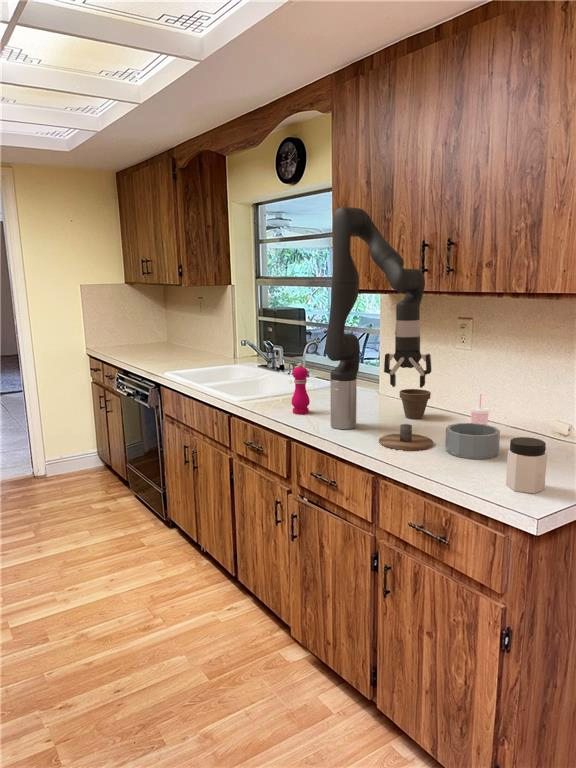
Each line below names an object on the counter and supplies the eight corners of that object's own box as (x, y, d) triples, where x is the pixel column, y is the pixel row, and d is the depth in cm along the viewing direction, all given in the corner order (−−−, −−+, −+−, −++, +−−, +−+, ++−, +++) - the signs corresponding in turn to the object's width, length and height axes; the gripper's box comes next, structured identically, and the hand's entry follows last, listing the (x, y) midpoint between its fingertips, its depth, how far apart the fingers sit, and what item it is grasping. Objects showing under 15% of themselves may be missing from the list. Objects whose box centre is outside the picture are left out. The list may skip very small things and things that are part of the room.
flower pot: (417, 412, 222) (418, 387, 221) (436, 418, 212) (437, 392, 210) (393, 415, 218) (393, 390, 216) (410, 422, 208) (411, 395, 206)
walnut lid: (375, 437, 190) (375, 419, 189) (426, 436, 190) (426, 418, 189) (383, 452, 174) (383, 433, 172) (439, 451, 173) (439, 432, 172)
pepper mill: (299, 415, 220) (298, 364, 217) (288, 412, 226) (287, 362, 222) (313, 412, 224) (313, 363, 221) (302, 409, 230) (301, 361, 227)
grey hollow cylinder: (440, 444, 179) (441, 423, 178) (488, 444, 179) (489, 422, 178) (453, 459, 164) (454, 436, 163) (505, 459, 164) (506, 435, 163)
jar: (529, 496, 136) (532, 448, 134) (500, 486, 143) (502, 440, 141) (550, 488, 141) (553, 442, 139) (520, 479, 148) (523, 434, 146)
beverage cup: (489, 438, 186) (492, 396, 183) (470, 437, 187) (472, 395, 184) (486, 433, 192) (488, 392, 189) (468, 432, 193) (469, 392, 190)
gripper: (433, 334, 175) (432, 385, 177) (387, 333, 180) (387, 384, 183) (429, 336, 168) (429, 389, 171) (382, 336, 173) (382, 388, 176)
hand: (407, 386), depth 177 cm, fingers open, 8 cm apart
